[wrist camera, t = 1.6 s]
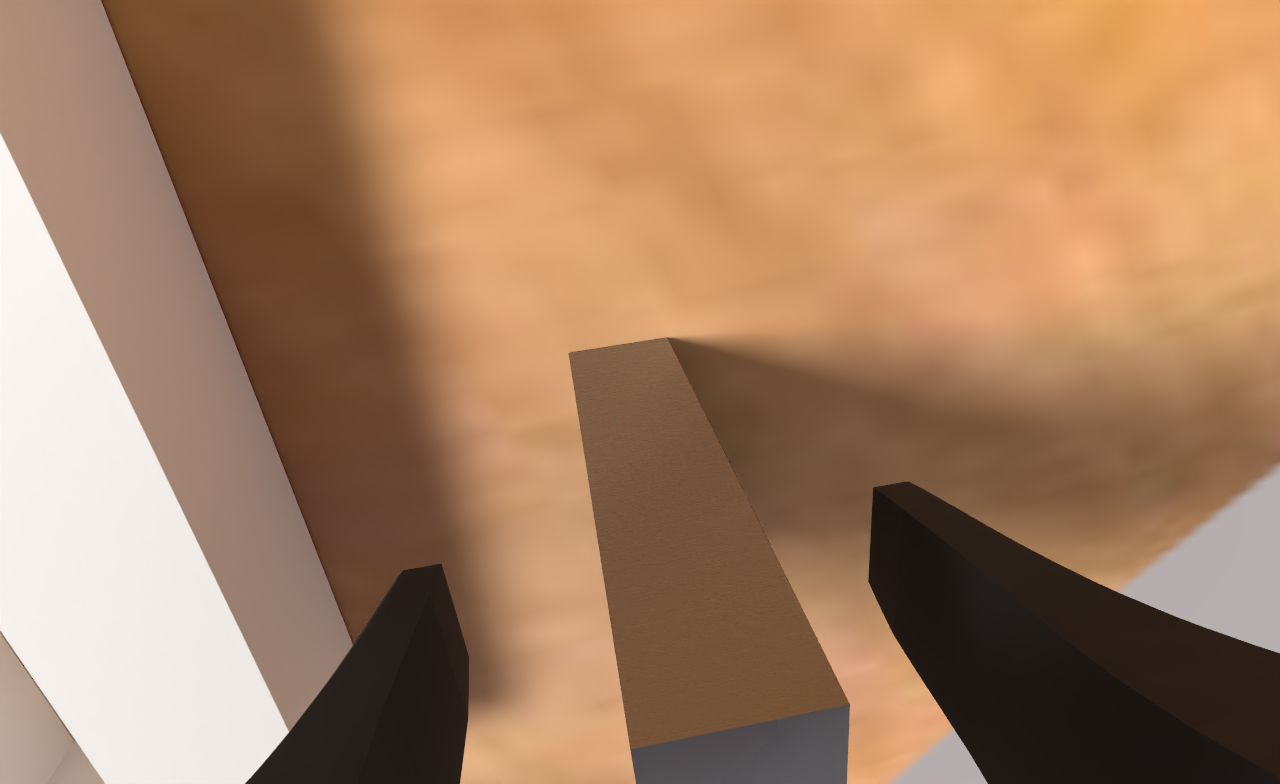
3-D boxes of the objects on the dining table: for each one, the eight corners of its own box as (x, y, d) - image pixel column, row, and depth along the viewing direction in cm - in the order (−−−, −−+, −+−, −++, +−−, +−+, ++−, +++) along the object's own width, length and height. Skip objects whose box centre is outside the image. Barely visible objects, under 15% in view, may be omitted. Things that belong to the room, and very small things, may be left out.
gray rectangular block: (685, 535, 17) (838, 989, 9) (600, 550, 17) (677, 1028, 9) (666, 337, 14) (849, 703, 6) (568, 353, 14) (630, 750, 6)
